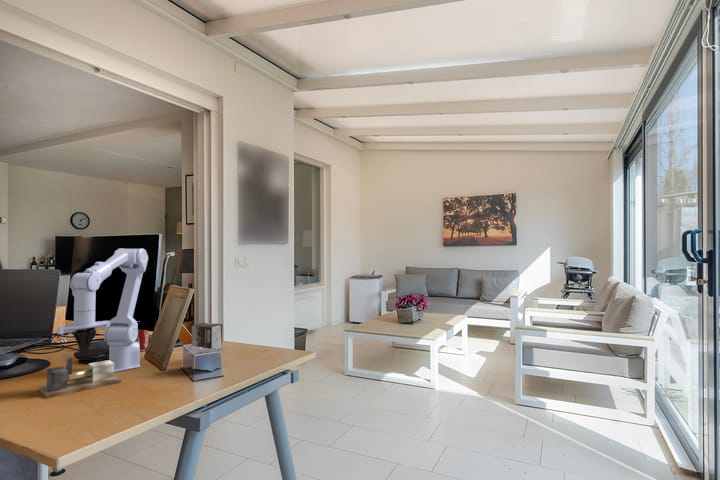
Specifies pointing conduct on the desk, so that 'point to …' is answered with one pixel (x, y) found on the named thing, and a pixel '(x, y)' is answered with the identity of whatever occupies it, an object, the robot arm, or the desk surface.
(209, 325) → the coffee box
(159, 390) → the desk surface
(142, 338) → the soda can
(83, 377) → the slip tube
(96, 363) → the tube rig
